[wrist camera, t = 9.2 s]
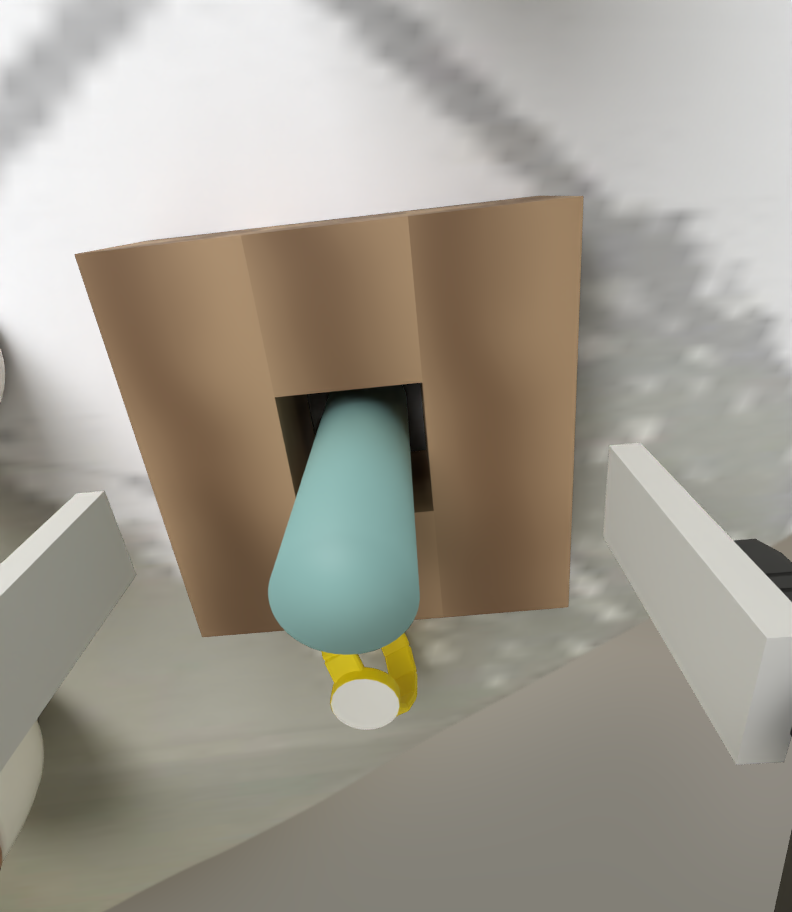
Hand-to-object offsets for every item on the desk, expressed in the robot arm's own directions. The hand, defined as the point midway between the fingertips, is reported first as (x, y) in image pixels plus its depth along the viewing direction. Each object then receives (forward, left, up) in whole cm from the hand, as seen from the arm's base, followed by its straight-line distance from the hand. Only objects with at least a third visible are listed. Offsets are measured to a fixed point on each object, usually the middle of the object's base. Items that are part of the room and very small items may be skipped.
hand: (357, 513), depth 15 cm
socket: (0, 0, -9) cm, 9 cm away
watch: (+1, +11, -9) cm, 14 cm away
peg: (0, 0, -9) cm, 9 cm away
